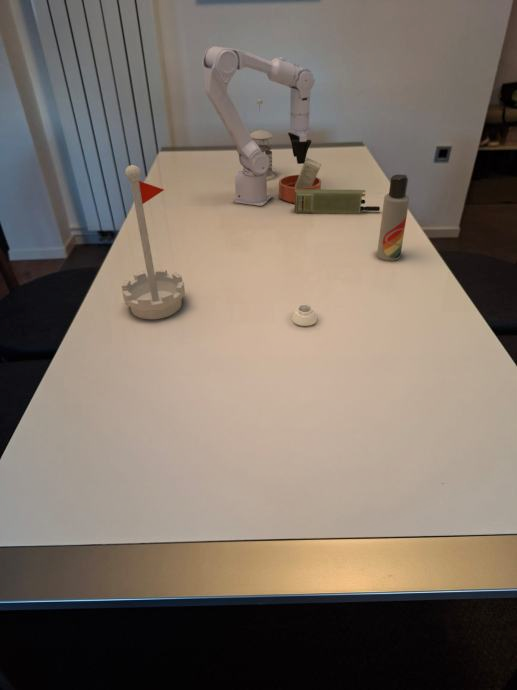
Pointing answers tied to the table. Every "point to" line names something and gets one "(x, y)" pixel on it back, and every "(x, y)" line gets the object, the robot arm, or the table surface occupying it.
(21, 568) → the table surface
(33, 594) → the table surface
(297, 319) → the white jar
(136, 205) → the flag stand
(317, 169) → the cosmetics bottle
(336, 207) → the handheld radio
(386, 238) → the lotion bottle
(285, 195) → the bowl
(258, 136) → the weather station
